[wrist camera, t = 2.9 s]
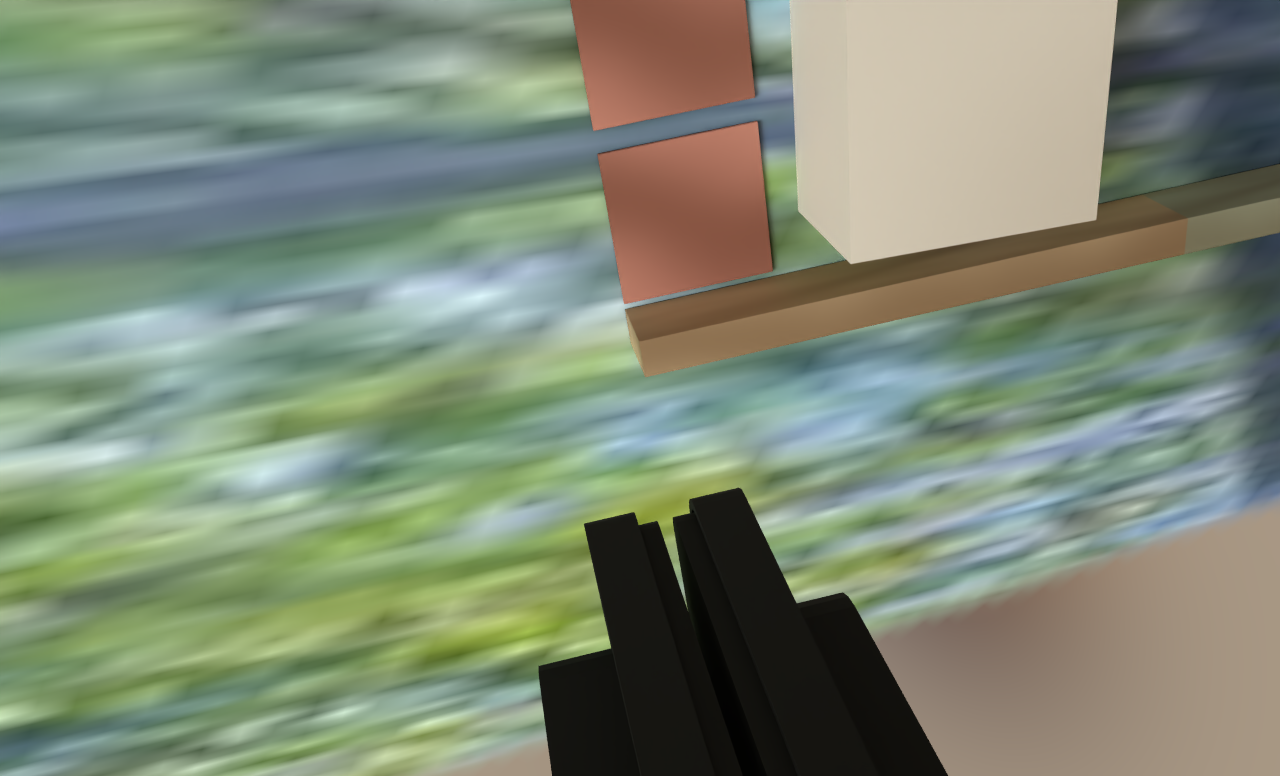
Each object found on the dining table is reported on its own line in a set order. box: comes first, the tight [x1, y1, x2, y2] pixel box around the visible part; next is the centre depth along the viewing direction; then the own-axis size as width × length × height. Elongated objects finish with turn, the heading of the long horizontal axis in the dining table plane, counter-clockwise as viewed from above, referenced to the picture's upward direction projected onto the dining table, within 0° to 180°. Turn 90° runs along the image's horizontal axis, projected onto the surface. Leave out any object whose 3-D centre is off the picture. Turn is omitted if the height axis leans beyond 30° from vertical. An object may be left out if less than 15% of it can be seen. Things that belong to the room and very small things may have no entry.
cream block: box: [790, 0, 1118, 264], centre depth 25 cm, size 6×6×4 cm
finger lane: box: [570, 0, 1280, 377], centre depth 26 cm, size 11×23×2 cm, turn 99°
